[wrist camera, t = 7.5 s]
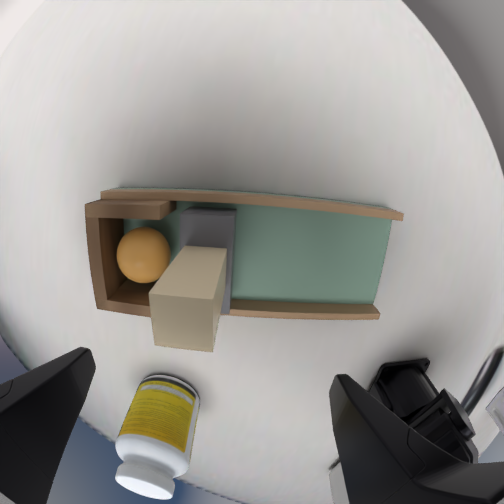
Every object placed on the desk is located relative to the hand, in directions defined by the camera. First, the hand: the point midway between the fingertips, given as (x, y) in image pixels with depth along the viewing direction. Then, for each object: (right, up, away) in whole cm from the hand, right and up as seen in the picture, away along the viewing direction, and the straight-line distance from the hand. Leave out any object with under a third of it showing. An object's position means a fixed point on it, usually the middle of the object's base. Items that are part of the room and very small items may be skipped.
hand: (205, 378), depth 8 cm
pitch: (+1, +4, +11) cm, 12 cm away
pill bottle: (-7, -10, +16) cm, 20 cm away
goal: (-6, +5, +11) cm, 13 cm away
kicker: (-1, +4, +10) cm, 11 cm away
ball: (-7, +4, +8) cm, 12 cm away
